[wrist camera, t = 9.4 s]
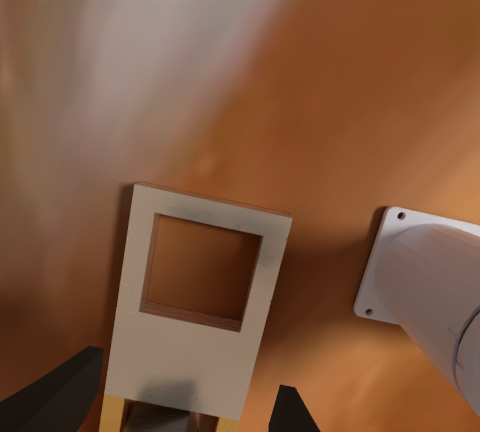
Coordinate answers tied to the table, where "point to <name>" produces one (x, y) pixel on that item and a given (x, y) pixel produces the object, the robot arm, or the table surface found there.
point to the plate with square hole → (188, 316)
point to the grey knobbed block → (160, 419)
